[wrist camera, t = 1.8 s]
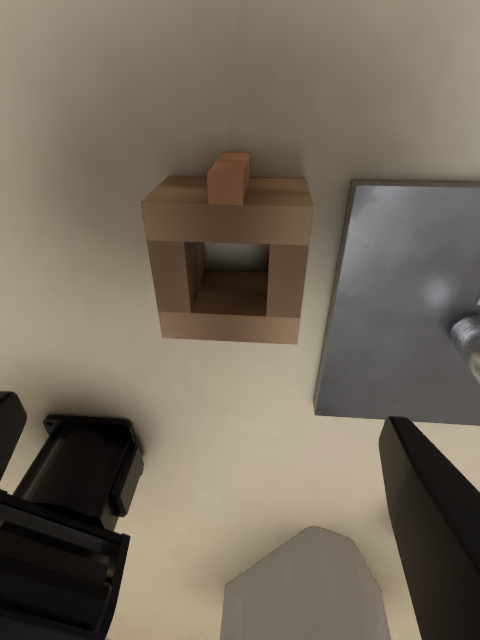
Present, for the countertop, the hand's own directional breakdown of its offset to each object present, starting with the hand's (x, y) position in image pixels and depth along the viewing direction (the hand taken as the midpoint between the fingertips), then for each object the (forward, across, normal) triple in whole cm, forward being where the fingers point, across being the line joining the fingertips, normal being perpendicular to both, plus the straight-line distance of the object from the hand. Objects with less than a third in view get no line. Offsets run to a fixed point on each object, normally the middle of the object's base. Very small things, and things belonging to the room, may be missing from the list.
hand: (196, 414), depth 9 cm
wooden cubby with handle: (+11, 0, 0) cm, 11 cm away
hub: (+11, -12, +4) cm, 16 cm away
